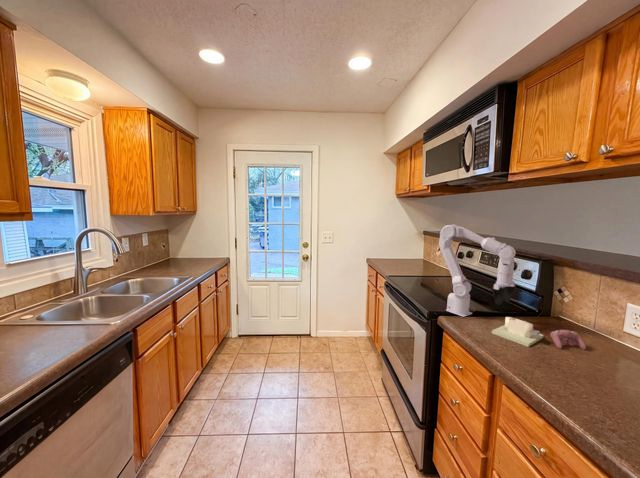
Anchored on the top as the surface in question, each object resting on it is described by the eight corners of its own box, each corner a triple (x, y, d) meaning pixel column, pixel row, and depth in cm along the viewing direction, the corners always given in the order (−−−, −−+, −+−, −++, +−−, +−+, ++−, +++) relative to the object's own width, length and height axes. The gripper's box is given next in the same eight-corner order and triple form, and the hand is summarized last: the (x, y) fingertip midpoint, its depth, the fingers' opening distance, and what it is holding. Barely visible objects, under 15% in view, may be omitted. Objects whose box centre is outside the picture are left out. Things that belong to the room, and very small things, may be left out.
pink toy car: (578, 349, 106) (573, 330, 109) (588, 350, 102) (583, 330, 104) (551, 348, 107) (547, 329, 109) (559, 348, 103) (555, 328, 105)
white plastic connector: (502, 329, 117) (503, 317, 116) (506, 327, 118) (508, 316, 118) (535, 340, 107) (537, 328, 106) (539, 338, 109) (540, 326, 108)
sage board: (491, 333, 115) (491, 330, 115) (507, 325, 123) (508, 323, 123) (528, 346, 105) (528, 343, 104) (543, 337, 112) (543, 334, 112)
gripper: (507, 277, 116) (504, 308, 118) (522, 273, 124) (519, 302, 126) (489, 273, 122) (487, 303, 124) (505, 269, 130) (502, 297, 132)
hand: (502, 302), depth 125 cm, fingers open, 7 cm apart
